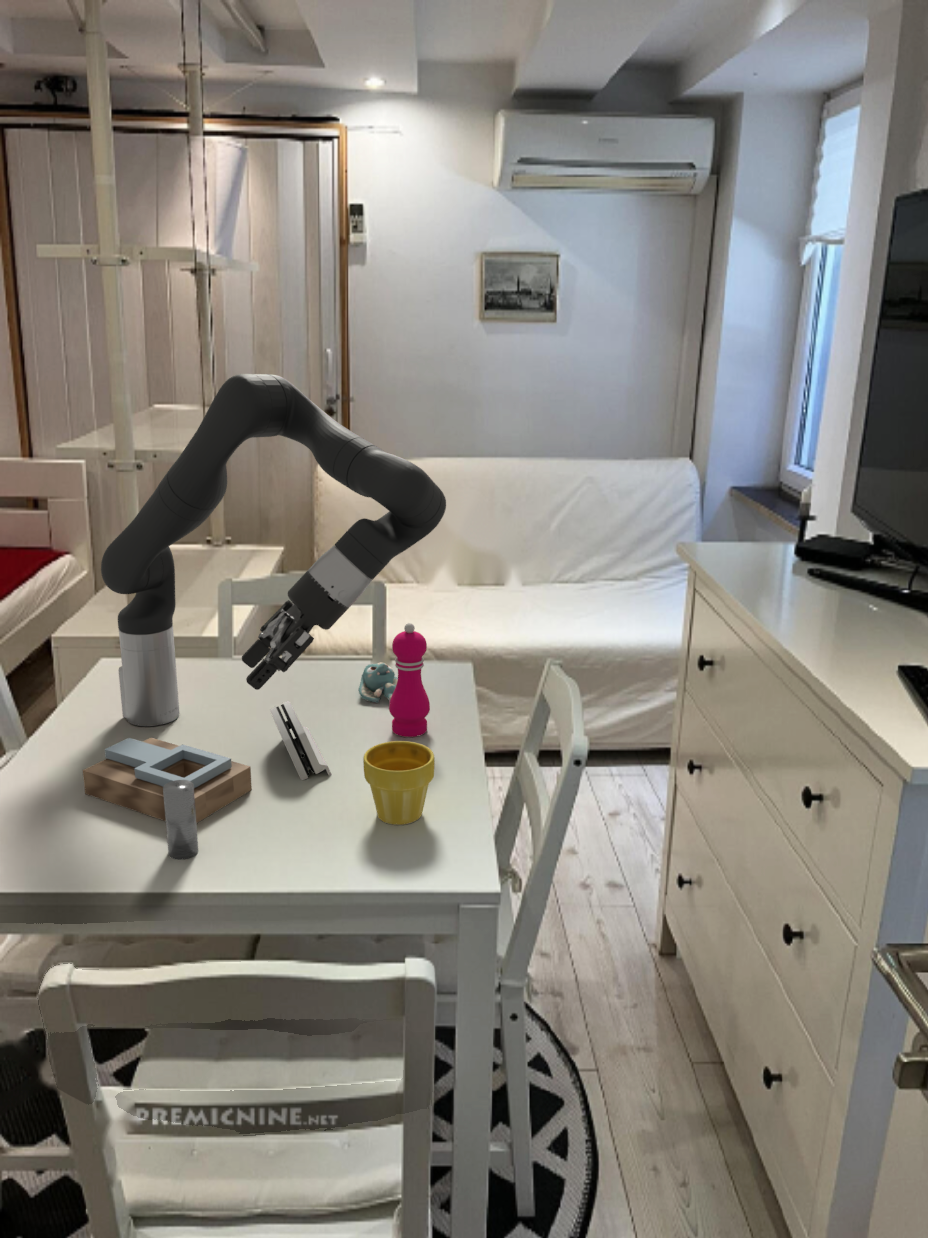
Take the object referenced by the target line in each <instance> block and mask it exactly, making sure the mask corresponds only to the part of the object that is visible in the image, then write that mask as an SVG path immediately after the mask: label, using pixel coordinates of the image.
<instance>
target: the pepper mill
mask: <svg viewBox="0 0 928 1238" xmlns="http://www.w3.org/2000/svg"><path fill="white" fill-rule="evenodd" d="M391 643H392V645H391V646H392V647H391V648H392V649H391V651H392V652H393V654H394V656H395V657H396V658H395V659H394V661H395V664H394V666H395V668H396V669H397V678H398V681H397V685H396V688H395V690H394V692H393V694H392V696H391V699H390V702H389V703H388V704H389V705H388V710H389V713H390V715H391V716H392V717H393V719H392V720H391V731H392V732H393V734H395V735H397V736H399V737H405V738H415V737H421V736H423V735H424V734H426V732H427V730H428V719H426V718H427V716H428V715H429V714H430V711H431V703H430V700H429V696H428V694H427V692H426V689H425V686H424V684H423V681H422V669H423V667H425V663H424V661H425V659H424V657H423V656H424V655H425V654H426V652H427V649H428V646H427V640H426V638H425V637H424V636H423V634H421V633H420V632H418V631H415V625H414V624H413V623H411V622H407V623H405V625H404V631H401V632H399V633H397V634H396V635H395V637H393V640H392V642H391Z"/></svg>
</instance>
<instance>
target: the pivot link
mask: <svg viewBox="0 0 928 1238" xmlns="http://www.w3.org/2000/svg"><path fill="white" fill-rule="evenodd" d="M104 755H105V759H110V760H113V761H117V762H120V763H123V764H126V765H129V766H133V767H136V768H134V770H135V778H138V779H141V780H144V781H147V782H151V783H154V784H157V785H160V786H164V785H165V784H167V783H169V782H171V781H175V780H188V781H191V782H192V783H193V784H194V788H196V787H198V786H199V785H201V784H203V783H205V782H207V781H208V780H210V779H212V778H214V777H215V776H217V775H219V774H221V773H223V772H224V771H226V770H228V769H230V768H231V767H232V764H231V761H232V758H231V757H228V756H227V757H226V756H224V755H221V754H218V753H214V752H210V751H206V750H204V749H200V748H197V747H193V746H191V745H187V744H186V745H185V744H180V745H178V747H176V748H174V749H172V750H169V749H165V748H162V747H159V746H155V745H152V744H148V743H145V742H143V741H141V740H138V739H134V738H132V737H128V738H125V739H124V740H121V741H119V742H117V743H115V744H113V745H110V746H108V747H106V748H104ZM182 759H186V760H190V761H193V762H196V763H200V764H203V765H206V766H205V767H203V768H201V769H199V770H198V771H196V772H194V773H192V774H190V775H188V776H186V777H185V778H183V777H180V776H177V775H173V774H170V773H167V772H164V771H161V770H163V769H164V768H166V767H168V766H170V765H172V764H174V763H176V762H178V761H180V760H182Z"/></svg>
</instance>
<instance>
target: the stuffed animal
mask: <svg viewBox="0 0 928 1238" xmlns="http://www.w3.org/2000/svg"><path fill="white" fill-rule="evenodd" d="M363 669H364V670H363V672H362V674H361V677H360V682H359V683H360V684H359V685H358V686H359V687H358V694H359V695H360V697H361V698H362V699H363V700H365V701H367V702H369V703H377V704H378V703H379V702H380V700H381V699H382V698H381V695H382V694H383V696H384V697H385V698H387V700H388V702H389V703H390V699H391V696H392V694H393V692H394V690H395V688H396V685H397V681H398V676H397V677H396V674H395V670H394V669H393V667H391V666H389V665H388V664H387V663H385V662H381V661H380V662H377V663H371V664H367V665H366V666H365V667H364V668H363Z"/></svg>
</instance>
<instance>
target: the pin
mask: <svg viewBox="0 0 928 1238" xmlns="http://www.w3.org/2000/svg"><path fill="white" fill-rule="evenodd" d="M163 795H164V807H165V819H166V821H165V829H166V839H167V841H166V842H167V853H168V856H169V858H171V859H174V860H186V859H187V860H188V859H190V858H194V857H195V856H196V855H198V853H199V841H198V840H199V839H198V829H197V828H198V827H197V824H198V823H196V810H195V797H194V784H193V783H192V782H191V781H188V780H175V781H171V782H169V783H167V784H165V785H164V786H163Z"/></svg>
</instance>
